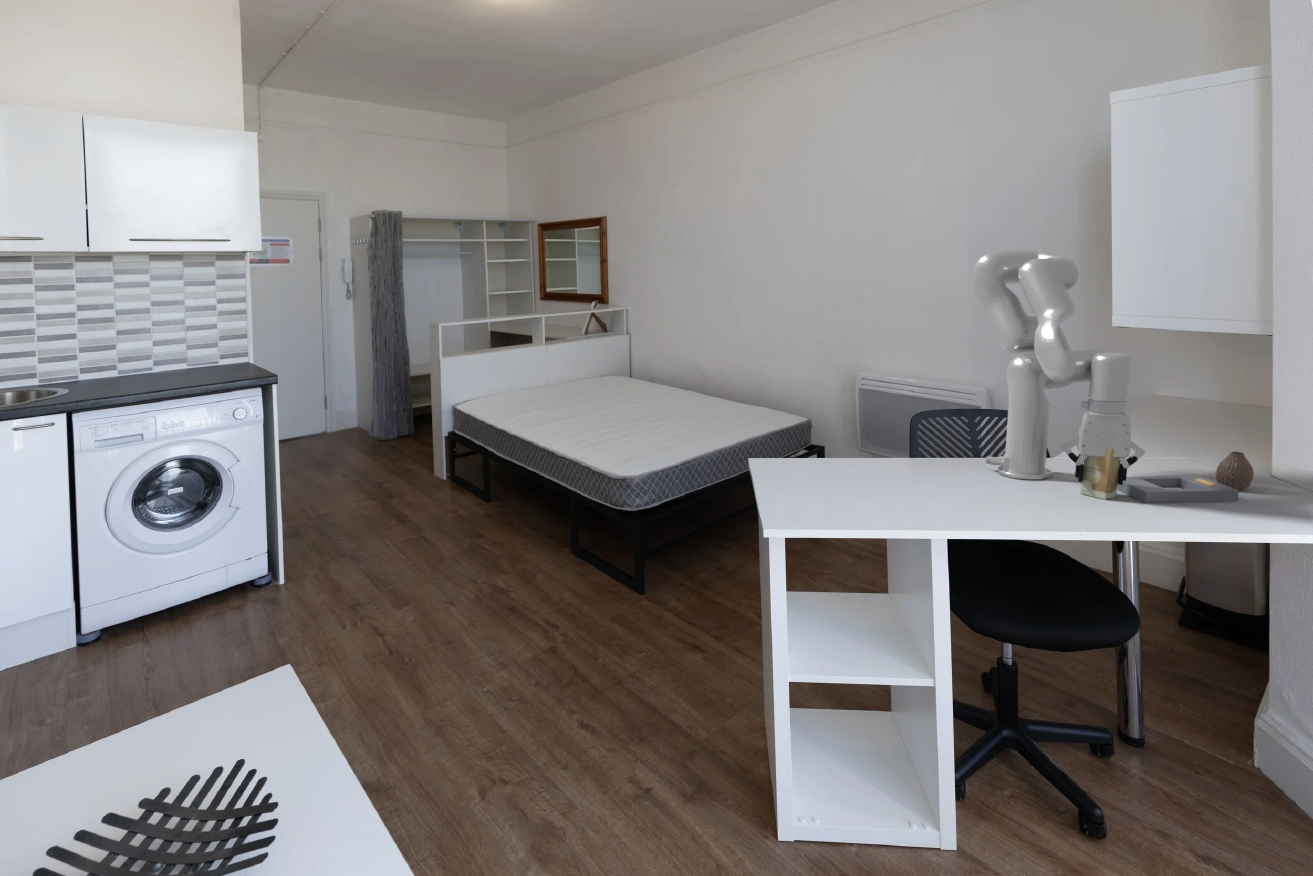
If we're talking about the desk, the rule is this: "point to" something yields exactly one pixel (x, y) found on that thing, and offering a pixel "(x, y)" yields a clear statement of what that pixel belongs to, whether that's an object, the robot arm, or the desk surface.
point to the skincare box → (1101, 476)
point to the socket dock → (1177, 489)
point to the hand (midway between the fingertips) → (1099, 481)
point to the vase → (1235, 471)
